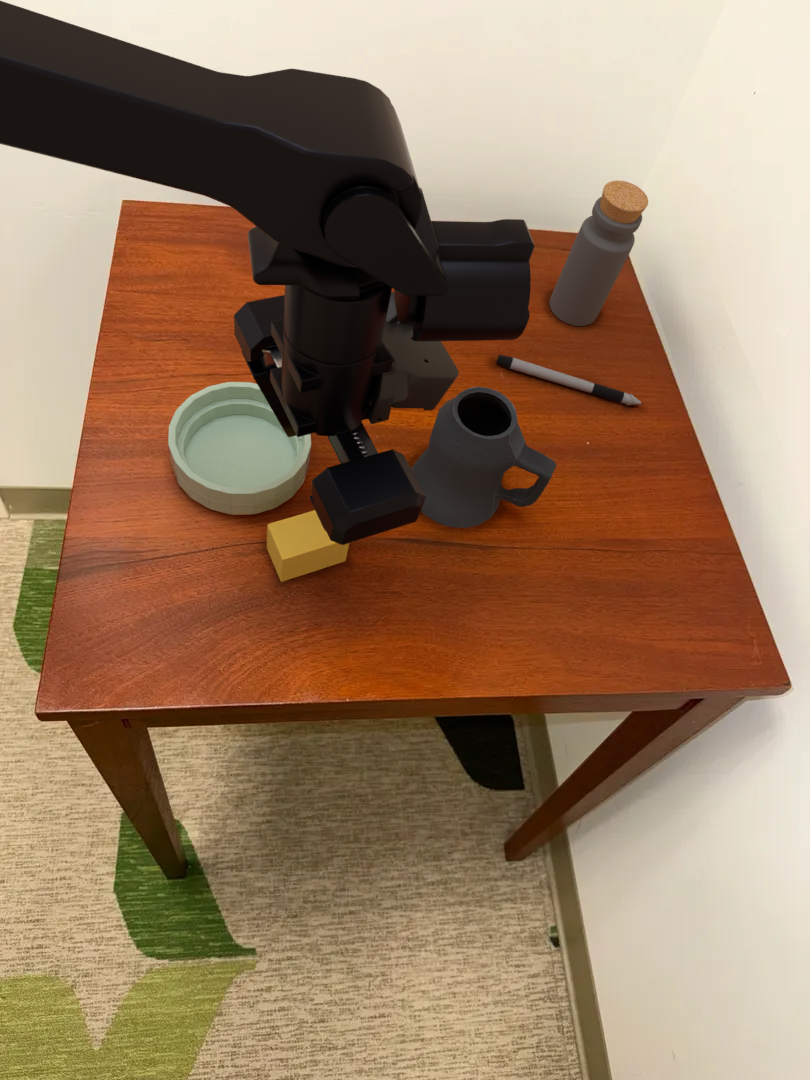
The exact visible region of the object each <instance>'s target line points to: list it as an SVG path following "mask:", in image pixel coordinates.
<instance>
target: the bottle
mask: <svg viewBox="0 0 810 1080" xmlns="http://www.w3.org/2000/svg"><path fill="white" fill-rule="evenodd" d="M647 195H648V194H646V192H645V191H644V190H643V189H642V188H640V187H639V186H637V185H636V184H634V183H631V182H628V181H625V180H611V181H608V182H607V183H606V184H605V185H604V186H603V189H602V193H601V196H600V197H599V198H597V199H596V201H595V203H594V204H593V207H592V209H591V215H590V216H588V217H587V218H585V219H584V220H583V222H582V224H581V226H580V228H579V230H578V233H577V234H576V237H575V239H574V242H573V244H572V246H571V248H570V250H569V253H568V255H567V258H566V260H565V262H564V265H563V267H562V269H561V272H560V274H559V276H558V279H557V280H556V284H555V286H554V289H553V291H552V293H551V296H550V298H549V308H550V310H551V313H552V314H553V315H554V316H555V317H556V318H557V319H558V320H560V321H561V322H563V323H565V324H568V325H569V326H574V327H586V326H588V325H591V324H593V323H594V322H595V320H596V319H597V318H598V316H599V315H600V312H601V310H602V308H603V306H604V305H605V303H606V300H607V298H608V296H609V295H610V293H611V291H612V289H613V287H614V285H615V283H616V281H617V279H618V277H619V275H620V273H621V271H622V269H623V267H624V266H625V263H626V261H627V260H628V257H629V255H630V254H631V251H632V250H633V247H634V245H635V239H636V238H635V234H634V233H636V232H637V231H638V229H639V227H640V226H641V224H642V221H643V212H644V211H645V210H646V208H647V207H648V205H649V199H648V198H649V197H648V196H647Z"/></svg>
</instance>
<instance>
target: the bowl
mask: <svg viewBox="0 0 810 1080" xmlns="http://www.w3.org/2000/svg"><path fill="white" fill-rule="evenodd" d="M311 435H312V434H308V435H304V436H300V437H297V435H296V436H292V437H288V436H287V435H286V433H285V432H284V430H283V428H282V426H281V425H280V423H279V421H278V419H277V418H276V416H275V414H274V412H273V411H272V409H271V407H270V405H269V404H268V402H267V400H266V398H265V397H264V395H263V393H262V392H261V390H260V388H259V386H258V385H257V383H256V382H249V381H226V382H221V383H217V384H212V385H208V386H206V387H205V388H202V389H200V390H199V391H197V392H195V393H193V394H191V395H190V396H188V397H187V398H186V399H185V400H184V401H183V402H182V403H181V404H180V405H179V406H178V407H177V408H176V410H175V412H174V413H173V415H172V418H171V420H170V423H169V424H168V435H167V446H168V452H169V453H168V454H169V458H170V464H171V469H172V471H173V474H174V477H175V480H176V482H177V484H178V486H179V487H180V488H181V489H182V490H183V491H184V492H185V493H186V495H188V497H189V498H190V499H192V500H193V501H195V502H196V503H199V504H200V505H202V506H203V507H205V508H207V509H210V510H212V511H216V512H219V513H224V514H227V515H232V516H234V515H237V516H238V515H239V516H240V515H257V514H260V513H264V512H267V511H270V510H274V509H276V508H278V507H280V506H281V505H283V504H284V503H286V502H287V501H289V500H290V499H292V498H293V497H294V496H295V494H296V493H297V491H298V490H300V488H301V487H302V485H303V484H304V483H305V480H306V477H307V474H308V472H309V468H310V463H311V461H310V460H311V451H312V436H311Z"/></svg>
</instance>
